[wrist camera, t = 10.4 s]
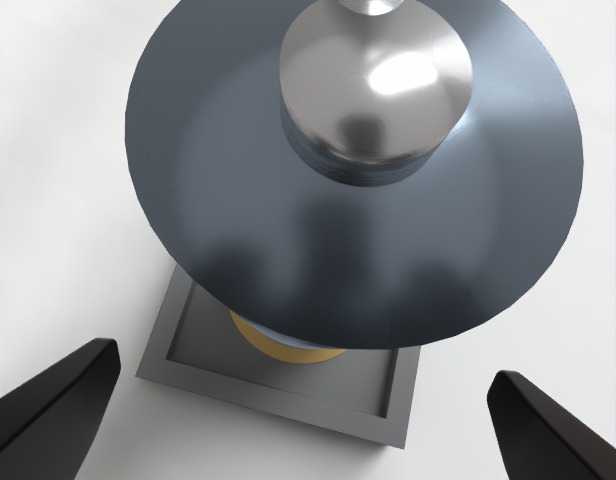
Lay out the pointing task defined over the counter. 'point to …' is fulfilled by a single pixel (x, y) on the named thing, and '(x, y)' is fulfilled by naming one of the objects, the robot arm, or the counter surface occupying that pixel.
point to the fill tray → (277, 369)
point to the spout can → (355, 163)
